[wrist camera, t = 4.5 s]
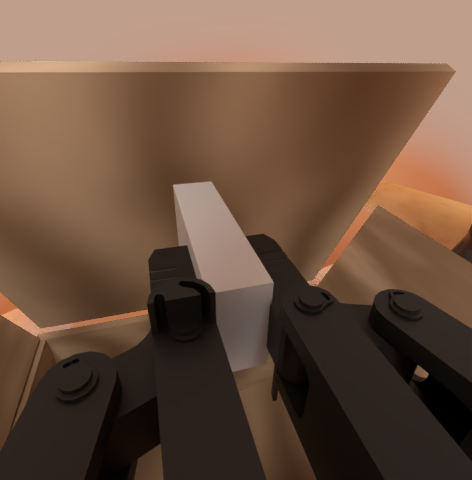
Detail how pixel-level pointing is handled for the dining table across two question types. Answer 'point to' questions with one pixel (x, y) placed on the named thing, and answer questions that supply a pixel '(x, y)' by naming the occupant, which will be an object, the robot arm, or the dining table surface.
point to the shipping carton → (260, 377)
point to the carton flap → (185, 164)
